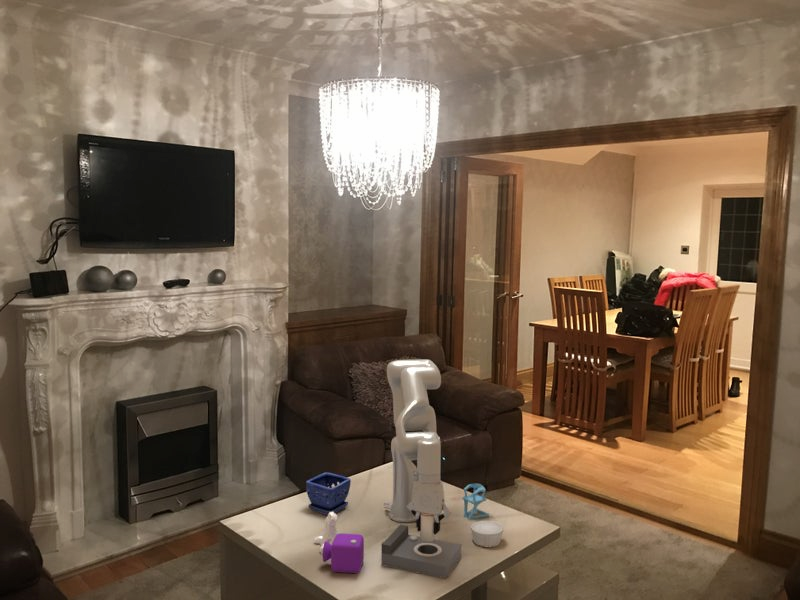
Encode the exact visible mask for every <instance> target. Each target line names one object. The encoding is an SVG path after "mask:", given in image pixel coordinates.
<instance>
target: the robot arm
mask: <svg viewBox="0 0 800 600" xmlns="http://www.w3.org/2000/svg"><path fill="white" fill-rule="evenodd" d="M386 378H387V381H388V384H389V387H390V389H391V392H392V393H391V394H392V403H393V409H392V410H393V423H394V424H393V425H394V427H395V434H396V436H394V437H393V438H392V440H391V444H390V450H391V457H392V471H393V472H392V493H393V494H392V501H391V502H390V501H388V500H387V501H386V500H384V501H383V509H387V510H389V512H388V517H389V519H391V520H392V521H394V522H398V523H414V522H415V523H416V525H415V526H416V527H415V528H417V532H421V513H427V514H433V515H434V517H435V522H434V534H435V535H437V534H438V533H439V532H440V530H441V521H442V520H443V519H444V518H446V517H448V516H449V515H450V514H451V510H450V509H449V507H448V506H447V505H446V501H445V491H444V485H443V484H444V483H443V481H442V480H441V456H442V455H441V454H442V453H441V450H442V449H441V447H442V445H441V438H440V436H439V435H438V433H437V418H436V417H437V416H436V412H435V409H434V408H433V406H431V405H430V401H429V397H428V391H427V390H437V389H439V388H440V386H441V384H442V376H441V371H440V369H439V367H438V366H437V365H436V364H435V363H434V362H433V361H432V360H431V359H425V358H424V359H397V360H396V359H395V360H393V361H392V360H391V362H389V363H388V364H387V367H386ZM406 431H410V432H406ZM411 431H412V432H411ZM415 431H416V432H415ZM412 461H416V463H417V464H416V465H415V464H414V463H413V462H412ZM442 511H443V512H442Z"/></svg>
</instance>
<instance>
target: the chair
mask: <svg viewBox="0 0 800 600" xmlns="http://www.w3.org/2000/svg"><path fill="white" fill-rule="evenodd" d="M470 488H473V492H472V493H471V494H469V495H468V493H467V490H468V489H470ZM486 490H487V489H486V488H485V486H484V485H482V484H481V483H470V484H468V485H466V487H464V488H463V492H464V496H462V500H463V503H464V504H463V506H464V507H463V518H467V517H468V520H469V519H470V520H475V519H483V518H487V517H489V515H490V514H489V513H488V512H486V511H483V510H481V509H479V508H478V506H479V505H480V504H482V503H483V502H486V501H487V497H485V493H486ZM481 492H482V494H481V495H479V493H481ZM469 503H470V504H471V505H473V507H472V508H471V509H469V511H468V506H469V505H468V504H469ZM475 512H478V513H479V514H474V513H475Z"/></svg>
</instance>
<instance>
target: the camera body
mask: <svg viewBox="0 0 800 600" xmlns="http://www.w3.org/2000/svg"><path fill="white" fill-rule="evenodd" d="M380 555H381V558H380V559H381V564H380V565H381V566H385V567H389V568H394V569H399V570H404V571H409V572H414V573H417V574H423V575H427V576H430V577H431V576H432V577H436V578H441V579H445V580H446V579H447V578H448V577H449V575H450V573H451V572H452V570H453V569H454V568H455V566H456V564H457V563H458V561H459V560H460V558H461V557H462V544H460V543H457V542H456V543H455V542H450V541H444V540H440V539H435V540H434V541H423V540H421V538H420V535H413V534H409V525H406V524H399V525H398V526H397V527H396V528H395V529H394V530H393V532H392V533H391V534H390V535H389V536H387V538H386V539H385V540H383V542H382V543H381V554H380Z"/></svg>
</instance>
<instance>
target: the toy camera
mask: <svg viewBox="0 0 800 600" xmlns="http://www.w3.org/2000/svg"><path fill="white" fill-rule="evenodd" d="M364 547H365V541H364V535H362V534H357V533H345V532H344V533H339V534H337V535H336V537H335V539H334V541H333V543H332V545H331V544H330V543H329V542H327V541H325V543H324V546H323V548H322V550H321V553H320V554H321V556H322V561H323V563H325V562H328V561H329V560H330V568H331V570H332V572H336V573H348V574H349V573H352V574H356V573H359V572H360V570H361V569H362V565H363V563H364V557H365V554H364V553H365V551H364Z"/></svg>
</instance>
